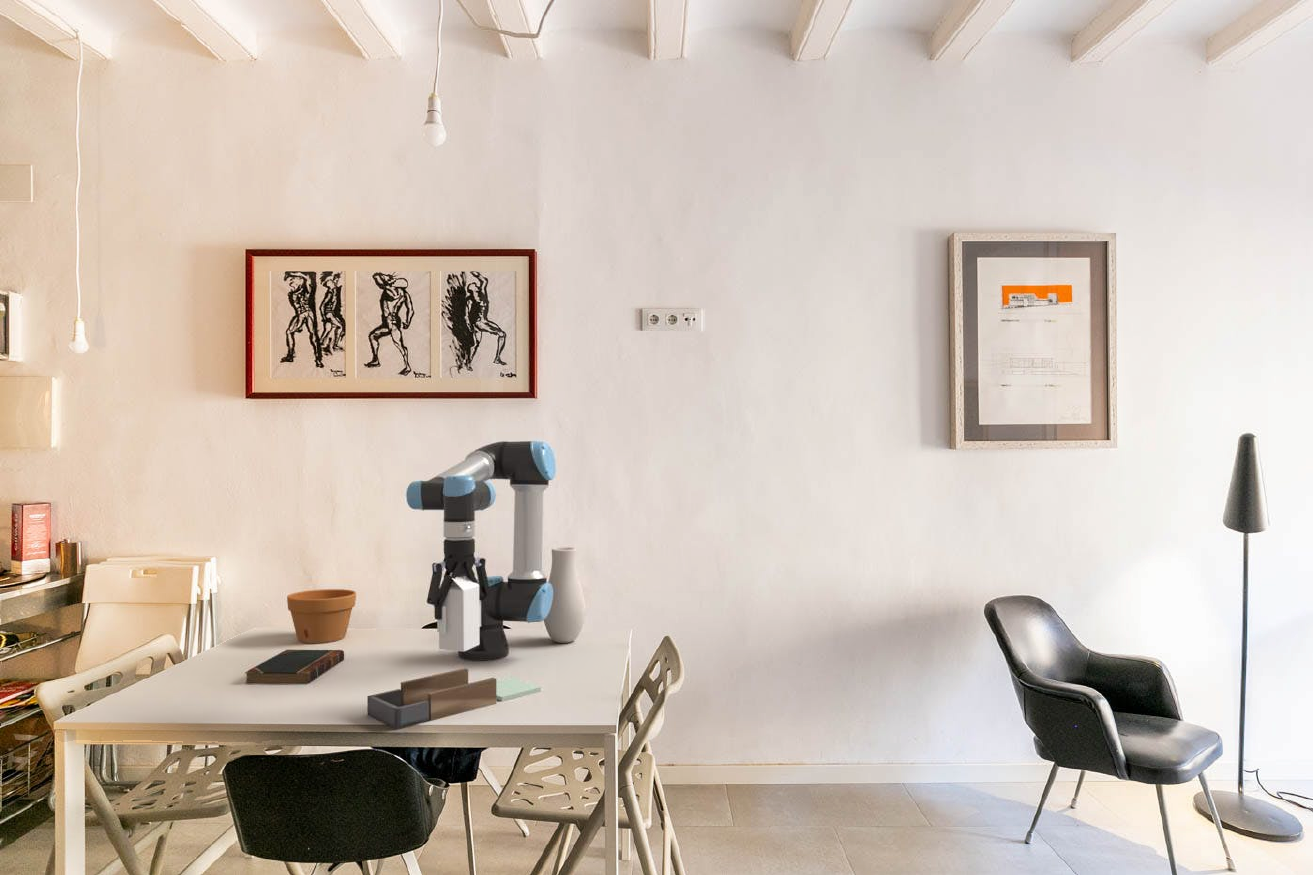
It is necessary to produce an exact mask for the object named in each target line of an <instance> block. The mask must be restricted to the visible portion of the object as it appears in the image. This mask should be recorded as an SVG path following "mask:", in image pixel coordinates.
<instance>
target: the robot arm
mask: <svg viewBox="0 0 1313 875" xmlns="http://www.w3.org/2000/svg"><path fill="white" fill-rule="evenodd" d="M556 468H557V467H556V459H555V454H554V451H553V449H552V447H551V446H550V444H549V443H547V442H544V441H535V440H527V441H523V440H521V441H520V440H519V441H502V440H501V441H496V442H492V443H489V444H486V445H484V446H481V447H479V448H477V449H475V450H474V451H470V453H468V454H467V455H466V457H465V458H464V460H462V461H460V462H458V463H457V464H456V465H455V464H454V466H452V467H450V468H448V469H447V470H445V471H443V472H441V473H439V474H437V475H436V476H434V477H432V478H430V479H429V480H416V481H415V480H414V481H412V482H411V483H409V485H407V486H408V487H407V488H406V493H405V494H406V495H405V496H406V503H407V505H408V507H409V508H410V509H412V510H421V511H443V534H442V535H443V537H444V538H445V539H444V540H443V556H444V558H443V560H442V561H441V562H433V563H432V564H431V568H432V575H431V579H430V584H429V587H428V588H429V590H428V593H427V599H426V603H427V604H429V605H432V606H433V607H434V611H433V612H434V618H435V620H437V621H436V622H437V631H436V632H437V633H439V632H440V633H443V634H444V633H446V606H443V603H444V601H445V598H446V596H447V594H448V591H449V589H450V587H451V584H452V582H453V581H454V580H453V579H455V578H456V577H459V576H461V575H462V576H467V577H468V578H469V579H470V580H471V581H472V582H474V583H477V584H478V585H479V645H478V646H476V647H473V648H471V649H469V650H466V651H464V652H463V651H457V656H458V657H459V658H460V659H464V660H467V661H468V660H469V661H490V660H497V659H501V658H504V657H507V656H508V655H509V654H510V649H509V648H510V645H509V641H508V638H507V636H506V633H505V630H504V622H519V623H520V622H523V623H528V624H530V623H540V622H544V619H545V618H546V617H547V616H548V614H549V611H550V609H551V605H552V600H553V587H552V585H551V584H550V583H548V581H547V579H548V578H547V575H546V574H545V573H544V571H543V566H542V565H543V530H544V529H543V527H544V525H543V522H544V520H543V519H544V517H543V516H544V492H545V490H547V488H548V487H549V481H552V480H553V479H554V478H555V476H556V471H557V470H556ZM488 480H509V487H511V488H512V490H513V491H514V508H513V509H514V511H513V515H514V516H513V522H514V523H513V549H512V554H513V558H512V571H511V573H509V575H508V576H507V581H504V580H505V579H504V576H503V575H496V576H495V575H492V576H488V575H487V570H486V561H487V560H486V558H484V557H480V556H479V557H476V556H475V552H476V541H475V540H476V539H475V538H474V537H475V534H476V533H475V532H476V531H475V529H476V528H475V526H476V525H475V523H476V522H475V520H476V518H475V516H476V515H475V514H476V512H477V511H484V510H486V509H488V508H490V507H491V506H493V504H494V502H495V501H496V489H495V487H494V486H493V485H492V484H491V483H490V482H489V481H488ZM474 566H475V570H476V574H475V571H474V570H473V567H474ZM444 570H445V572H444V574H443V571H444ZM451 573H452V576H451ZM476 576H477V578H476ZM442 577H443V578H442ZM452 578H453V579H452Z"/></svg>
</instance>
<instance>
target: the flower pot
mask: <svg viewBox="0 0 1313 875" xmlns="http://www.w3.org/2000/svg"><path fill="white" fill-rule="evenodd" d="M356 601H357V592H356V591H355V590H351V589H339V588H335V589H334V588H333V589H331V588H328V589H327V588H326V589H324V588H323V589H311V590H303V591H297V592H293V593H290V594H288V595H287V596H286V602H287V610H288V611H289V612H290V614H291V619H292V622H293V626H294V631H295V634H296V639H297V641H298V642H300V643H303V644H325V643H332V642H337V641H340V640H343V639H345V637H346V634H347V632H348V627H349V624H350V618H351V614H352V611H353V608H354V607H355V605H356Z"/></svg>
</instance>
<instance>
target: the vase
mask: <svg viewBox="0 0 1313 875" xmlns="http://www.w3.org/2000/svg"><path fill="white" fill-rule="evenodd" d="M577 550H578V549H577V548H575V547H569V546H568V547H567V546H564V547H561V546H560V547H554V548H553V547H552V548H551V568H550V574H549V578H548V581H547V583H550V584H551V585H552V587H553V600H552V605H551V609H550V611H549V614H548V616H547V617H546V618H545V619H544V620H543V623H544V627H545V629H546V632H547V635H548V636H549V638H551V640H553V642H555V643H558V644H567V643H571V642H574V641H575V640H576V639H577V638H578V636H579V635H580V633H581V632H582V629H583V626H584V621H585V616H586V600H585V595H584V591H583V588H582V585H581V581H580V576H579V572H578V567H577Z"/></svg>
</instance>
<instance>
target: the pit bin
mask: <svg viewBox="0 0 1313 875" xmlns="http://www.w3.org/2000/svg"><path fill="white" fill-rule="evenodd" d="M366 705H367V710H366V711H367V715H366V716H368V717H369V718H372V719H374V720H376V721H378V722H381V723H382V724H384V725H387V726H389V727H391V728H393V729H394V730H401V729H405V728H408V727H411V726H412V727H413V726H415V725H419V724H423V723H428V722H430V720H429V701H423V702H419V703H415V704H411V705H407V706H401V688H400V689H399V688H396V689H393V690H390V691H384V692H380V693H375V694H371V695H367V704H366Z"/></svg>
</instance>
